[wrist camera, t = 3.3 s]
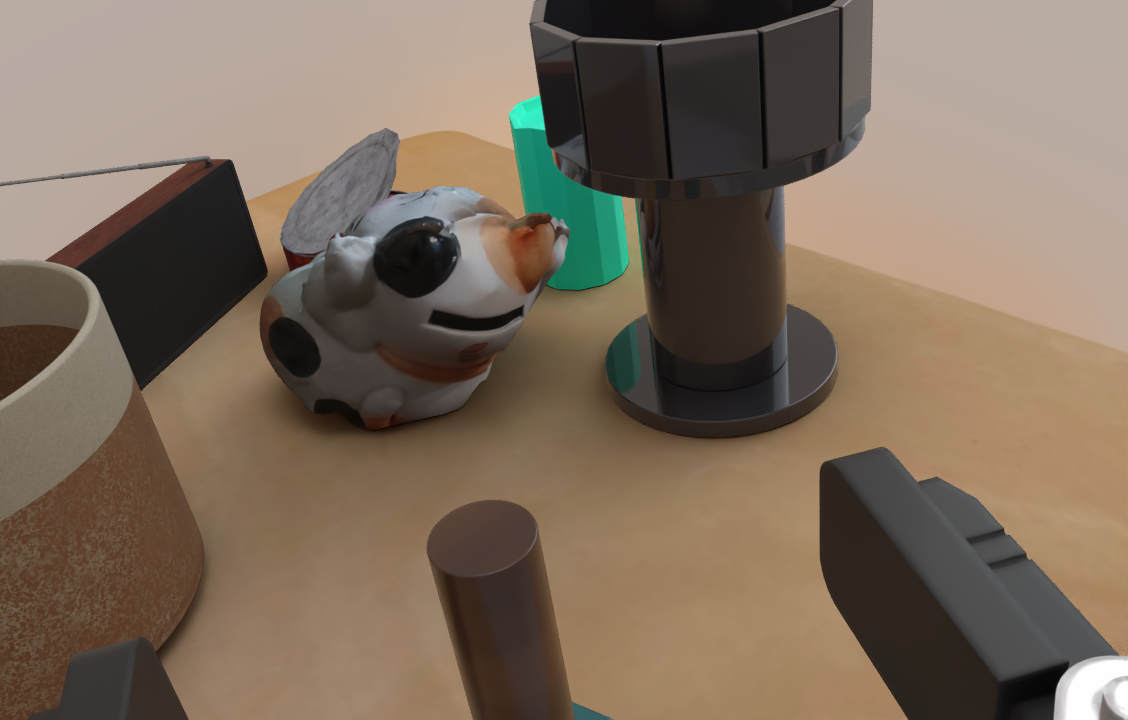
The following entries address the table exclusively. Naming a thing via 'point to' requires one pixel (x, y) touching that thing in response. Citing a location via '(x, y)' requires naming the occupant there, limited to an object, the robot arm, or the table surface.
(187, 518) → the planter
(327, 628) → the table surface
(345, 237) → the lucky cat figurine
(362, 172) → the canned food
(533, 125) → the candle
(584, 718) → the holder
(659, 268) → the bowl
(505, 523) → the stick
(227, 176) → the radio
